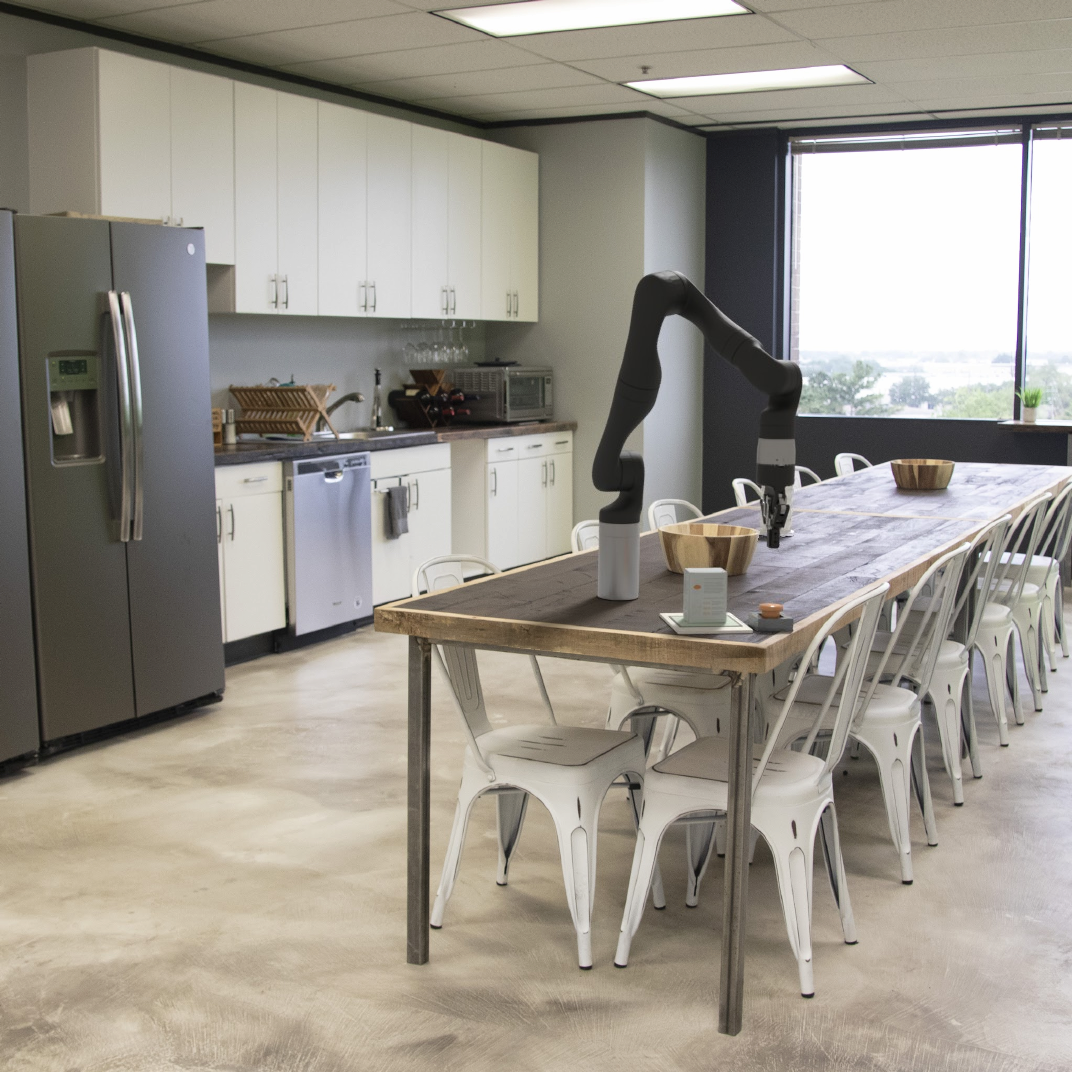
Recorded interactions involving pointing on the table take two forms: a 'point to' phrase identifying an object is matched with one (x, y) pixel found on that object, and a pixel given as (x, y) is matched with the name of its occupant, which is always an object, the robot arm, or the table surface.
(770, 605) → the button
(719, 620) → the small box
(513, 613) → the table surface
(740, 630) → the white rectangular board
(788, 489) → the decorative container
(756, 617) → the button base
